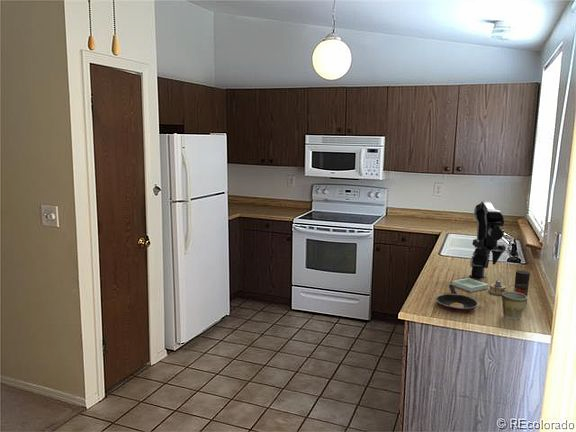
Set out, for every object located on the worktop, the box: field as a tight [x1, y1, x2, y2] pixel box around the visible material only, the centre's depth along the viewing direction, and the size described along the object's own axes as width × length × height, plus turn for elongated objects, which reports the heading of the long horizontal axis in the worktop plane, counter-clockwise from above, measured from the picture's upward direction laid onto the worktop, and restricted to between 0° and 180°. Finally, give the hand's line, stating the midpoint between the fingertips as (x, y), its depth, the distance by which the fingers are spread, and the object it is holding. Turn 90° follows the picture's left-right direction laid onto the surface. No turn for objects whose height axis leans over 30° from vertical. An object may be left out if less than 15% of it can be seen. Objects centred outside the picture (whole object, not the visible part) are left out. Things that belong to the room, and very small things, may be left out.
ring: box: [489, 283, 509, 295], centre depth 238 cm, size 7×9×3 cm
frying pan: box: [435, 283, 480, 313], centre depth 225 cm, size 19×32×4 cm, turn 168°
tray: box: [451, 277, 489, 293], centre depth 246 cm, size 12×12×3 cm
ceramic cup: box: [501, 290, 528, 321], centre depth 208 cm, size 13×10×10 cm
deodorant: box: [513, 269, 531, 304], centre depth 225 cm, size 6×6×15 cm
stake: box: [488, 280, 502, 296], centre depth 239 cm, size 8×8×6 cm
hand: (488, 265), depth 239 cm, fingers open, 9 cm apart
